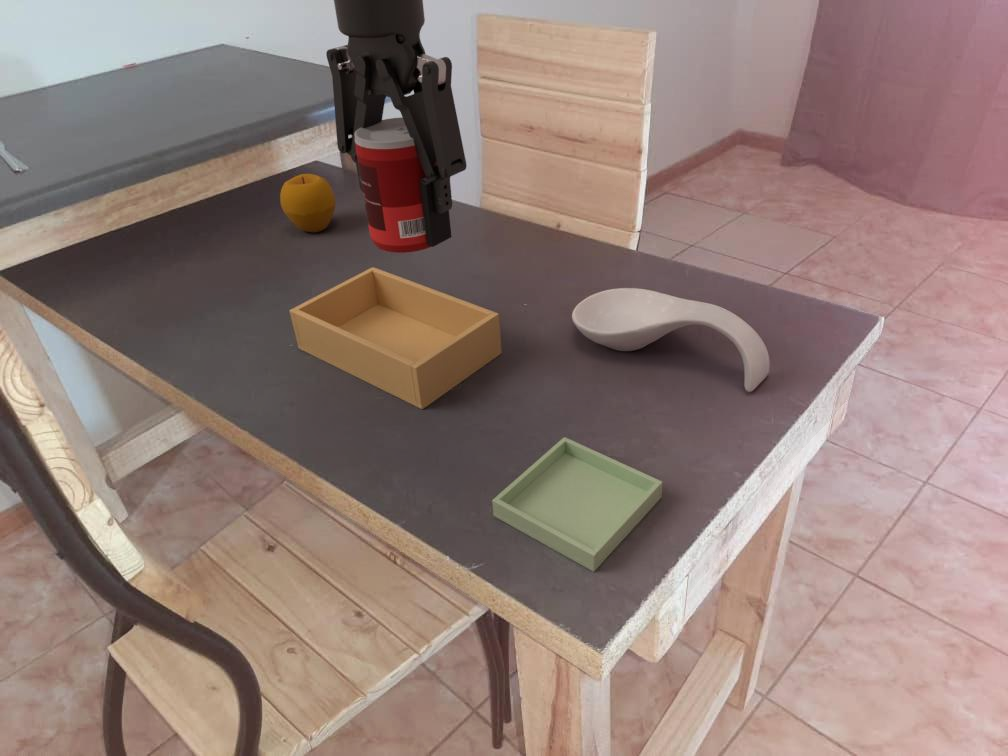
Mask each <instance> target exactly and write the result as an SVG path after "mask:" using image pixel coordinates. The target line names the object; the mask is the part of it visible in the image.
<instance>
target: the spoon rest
mask: <svg viewBox="0 0 1008 756" xmlns="http://www.w3.org/2000/svg"><path fill="white" fill-rule="evenodd" d="M571 320H572V322H573V324H574V325H575V327H576V328H577V329H578V330H579V332H580V333H581V334H582V335H583V336H584V337H586V338H587V339H589V340H590V341H592V342H594V343H596V344H598V345H601V346H604V347H607V348H609V349H612V350H615V351H620V352H632V351H636V350H638V351H639V350H641V349H643V348H645V347H646V346H648V345H650V344H653V343H654V342H656V341H657V340H659V339H660V338H662V337H664V336H665V335H667V334H669V333H671V332H672V331H675V330H677V329H680V328H682V327H686V326H693V325H694V326H695V325H698V326H705V327H707V328H711V329H713V330H715V331H717V332H719V333H721V334H722V335H724V336H725V337H726V338H727V339H728V340H730V341H731V342H732V344H734V346H735V347H736V349H737V351H738V352H739V354H740V356H741V358H742V362H743V368H744V369H743V372H744V373H743V374H744V380H743V381H744V382H743V386H744V389H745V391H746V392H748V393H752V392H753V391H754V390H755V389H756V388H757V387H758V386H759V385H760V384H761V383H762V382H763V381H764V380H765V379H766V378H767V376H768V375H769V373H770V368H771V367H770V366H771V365H770V364H771V362H770V355H769V352H768V349H767V346H766V344H765V342H764V340H763V339H762V337H760V335H759V333H757V332H756V330H755V329H754V328H753V327H752V326H751V325H750V324H748V323H747V322H746V321H745V320H743V319H742V317H739V316H738V315H736V314H735V313H733V312H732V311H730V310H728V309H726V308H724V307H722V306H719V305H717V304H713V303H709V302H703V301H699V300H692V299H688V298H687V299H686V298H681V297H677V296H673V295H670V294H667V293H662V292H660V291H655V290H650V289H646V288H637V287H620V288H612V289H606V290H603V291H599V292H596V293H594V294H591V295H589V296H587V297H586V298H585V299H583V300H582V301H580V302H579V303H578V304H577V305H576V306H575V308H573V310H572V313H571Z"/></svg>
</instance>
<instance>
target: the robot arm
mask: <svg viewBox="0 0 1008 756" xmlns="http://www.w3.org/2000/svg"><path fill="white" fill-rule="evenodd" d="M333 4H334V9H335V15H336V22H337V23H336V24H337V28H338V30H339V32H340V33H341V34H342V35H344V36H347V37H348V39H347V40H348V41H347V44H344V45H341V46H338V47H334V48H330V49H327V50H326V55H325V56H326V60H327V63H328V66H329V71H330V74H331V77H332V91H333V103H334V105H333V106H334V117H335V131H336V145H337V149H338V151H339V152H340V153H341V154H343V155H344V154H347V155H349V156H350V158H351V160H352V162H353V163H354V164H355V166H356V172H357V180H358V184H359V188H360V190H361V192H362V193H363V190H362V184H361V178H360V172H359V166H358V160H357V154H356V146H355V136H354V134H355V131H356V130H358V129H359V128H361V127H362V128H367V127H370V126H373V125H376V124H378V123H380V122H382V120H383V116H384V110H385V102H386V99H387V97H388V98H390V101H391V103H392V106H393V107H394V109H396V110H398V111H399V112H400V114H401V117H403V120H404V122H405V125H406V127H407V130H408V132H409V135H410V137H411V138H413V139H414V144H415V150H416V153H417V155H418V158H419V160H420V163H421V165H422V168H423V170H424V173H425V176H426V177H425V178H422V179H420V189H421V197H422V205H423V214H424V222H425V230H426V239H427V245H428V246H431V247H430V248H433V247H436V246H438V245H439V244H442V243H443V242H446V241H447V240H449V239H451V238H452V228H451V219H450V211H451V209H452V207H453V199H452V197H453V196H452V187H451V177H453V176H456V175H458V174H459V173H461V172H464V171H465V170H466V169H467V168H468V167H467V159H466V155H465V150H464V149H465V148H464V144H463V140H462V135H461V131H460V124H459V120H458V115H457V114H458V113H457V110H456V104H455V98H454V94H453V93H454V92H453V89H452V75H453V63H452V61H451V59H450V58H449V57H448V56H444V57H440V58H435V57H433V56H430V55H428V54H426V51H425V48H424V46H423V44H422V41H421V35H420V34H421V31H422V28H423V26H424V25H425V22H426V21H425V20H426V19H425V10H424V9H425V8H424V0H333ZM412 92H413V94H412ZM349 136H351V137H349ZM436 161H437V164H438V165H436V166H435V162H436Z"/></svg>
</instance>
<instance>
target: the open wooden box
mask: <svg viewBox="0 0 1008 756" xmlns="http://www.w3.org/2000/svg"><path fill="white" fill-rule="evenodd" d="M289 314H290V318H291V323H292V326H293V331H294V334H295V339H296V343H297V347H298V350H301V351H302V352H305V353H307V354H309V355H311V356H313V357H315V358H317V359H319V360H321V361H323V362H325V363H327V364H329V365H331V366H333V367H335V368H337V369H340V370H341V371H343V372H345V373H348V374H350V375H352V376H353V377H356V378H358V379H360V380H361V381H364V382H365V383H368V384H369V385H372V386H374V387H375V388H378V389H380V390H381V391H384V392H386V393H388V394H389V395H392V396H394V397H396V398H398V399H400V400H403V402H406V403H409V404H410V405H412V406H415V407H416V408H419V409H421V410H424V409H425V408H427V407H428V406H429V405H431V404H432V403H434V402H435V401H436V400H438V399H439V398H440V397H442V396H444V395H445V394H447V393H448V392H449V391H450V390H452V389H454V388H455V387H456V386H458V385H459V384H460V383H462V382H463V381H465V380H466V379H468V378H469V377H470V376H472V375H473V374H475V373H476V372H477V371H479V370H481V369H482V368H483V367H485V366H486V365H487V364H489V363H490V362H491V361H493V360H494V359H496V358H497V357H499V356H500V355H501V354H502V341H501V326H500V314H499V313H498V312H495V311H494V310H491V309H487V308H485V307H482V306H480V305H476V304H474V303H472V302H469V301H466V300H463V299H460V298H458V297H455V296H452V295H450V294H447V293H445V292H442V291H439V290H436V289H433V288H430V287H428V286H425V285H423V284H420V283H417V282H415V281H412V280H409V279H406V278H404V277H401V276H398V275H396V274H393V273H390V272H388V271H385V270H383V269H379V268H376V267H374V266H372V267H370V268H368V269H366V270H365V271H362V272H360V273H359V274H357V275H355V276H353V277H351V278H349V279H347V280H345V281H343V282H341V283H339V284H337V285H335V286H333V287H331V288H329V289H328V290H326V291H324V292H322V293H320V294H318V295H316V296H314V297H312V298H310V299H308V300H307V301H305V302H303V303H301V304H299V305H297V306H295V307H293V308H291V309H289Z"/></svg>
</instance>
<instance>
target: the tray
mask: <svg viewBox="0 0 1008 756" xmlns="http://www.w3.org/2000/svg"><path fill="white" fill-rule="evenodd" d="M662 494H663V481H662V480H660V479H658V478H656V477H653V476H651V475H649V474H646V473H645V472H642V471H640V470H638V469H636V468H634V467H631V466H629V465H627V464H624V463H623V462H620V461H619V460H616V459H614V458H612V457H609V456H607V455H605V454H603V453H600V452H598V451H596V450H594V449H592V448H590V447H587V446H586V445H583V444H581V443H579V442H577V441H574V440H572V439H570V438H568V437H565V436H564V437H562V438H561V439H560V440H558V442H556V443H555V445H553V446H552V447H551V448H549V449H548V450H547V451H546V452H545V453H544V454H543V455H542V456H541V457H540V458H539V459H538V460H536V461H535V462H534V463H532V465H531V466H529V467H528V468H527V469H525V471H523V472H522V473H521V474H520V475H518V477H516V478H515V480H513V481H512V482H511V483H509V485H507V487H505V488H504V489H503V490H502V491H500V492H499V493H498V494H497V496H496V497H494V498H493V499H492V500H491V501H492V503H491V504H492V513H493V517H494V518H496V519H498V520H500V521H502V522H504V523H506V524H507V525H509V526H511V527H512V528H514V529H516V530H518V531H520V532H522V533H523V534H525V535H527V536H529V537H531V539H534V540H536V541H538V542H539V543H541V544H543V545H545V546H546V547H548V548H550V549H552V550H554V551H556V552H557V553H559V554H561V555H563V556H564V557H566V558H568V559H570V560H571V561H573V562H575V563H577V564H579V565H580V566H582V567H584V568H586V569H588V570H590V571H591V572H594V573H595V571H596V570H597V569H598V568H599V567H600V566H601V565H602V564H603V563H604V562H605V560H607V558H608V557H609V556H610V555H611V554H612V553H613V552H614V551H615V549H616V548H617V547H618V546H619V545H620V544H621V543H622V542H623V540H625V538H626V537H627V536H628V535H629V534H630V533H631V532H632V531H633V530H634V528H636V526H637V525H638V524H640V522H642V520H643V519H644V518H645V516H647V514H648V513H649V512H650V511H651V510H652V509H653V507H655V505H656V504H657V503H658V502H659V501H660V500H661V499H662Z"/></svg>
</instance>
